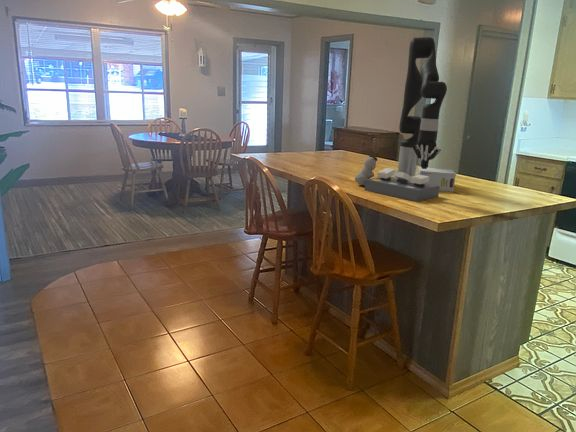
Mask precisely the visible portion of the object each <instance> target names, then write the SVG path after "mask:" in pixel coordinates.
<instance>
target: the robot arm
mask: <svg viewBox="0 0 576 432" xmlns="http://www.w3.org/2000/svg"><path fill="white" fill-rule="evenodd" d="M436 53H437V52H436V42H435V40H434V38H433V37H431V36H429V37H427V36H422V37H413V38H412V39H411V40H410V41H409V49H408V60H407V61H408V63H407V65H408V66H407V73H406V79H405V80H406V81H405V84H404V94H403V104H402V109H401V115H400V118H399V119H400V121H399V132H400V134H406V135H407V134H409V135H411V137H408V138H406V139H402V140H401V141H400V144H399V145H400V147H399V153H398V154H399V155H398V164H397V171H398V172H404V173H406V174H408V175H410V176H412V177H413V176H416V174H417V172H416V171H417V163H418V161H417V159H420V160H421V162H420V167H422V169H427V168H429V165H430V164H429V162H430V160H431V161H432V160H434V158H436V157H437V156H438V154H440V152H441V149H440V148H439V147H437V139H438V132H439V118H440V111H441V107H442V104H443V101H444V98H445V96H446V94H447V91H448V88H447V84H446V82H444V81H440V75H439V71H438V67H437V54H436ZM417 59H426V60H425V61H424V62H423V64H422V65H421V68H420V71H419V69H418V66H417V63H416V62H417V61H416V60H417ZM422 98H424V99H435V100H434V101H433V102H432V103H428V104H424V105H423V108H422V114H421V116H417V115H416V116H415V115H409V114H410V113H411V111H412V109H413V108H414V107H416V105H417V104H418V103H419V102H420V101H421V99H422Z"/></svg>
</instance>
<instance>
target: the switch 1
mask: <svg viewBox="0 0 576 432" xmlns="http://www.w3.org/2000/svg"><path fill="white" fill-rule="evenodd" d="M395 171H396V169H394V168H389V167H385V168H383V169H380V170H378V171H377V178H378V177H380V178H386V179H387V178H389V177H394V172H395Z"/></svg>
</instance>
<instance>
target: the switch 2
mask: <svg viewBox="0 0 576 432" xmlns="http://www.w3.org/2000/svg"><path fill="white" fill-rule="evenodd" d="M393 177H396V178H399V179H402V180H407V181H411V177H412V176H410V175H408V174H406V173H404V172H398V170H395V172H394V175H393Z"/></svg>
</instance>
